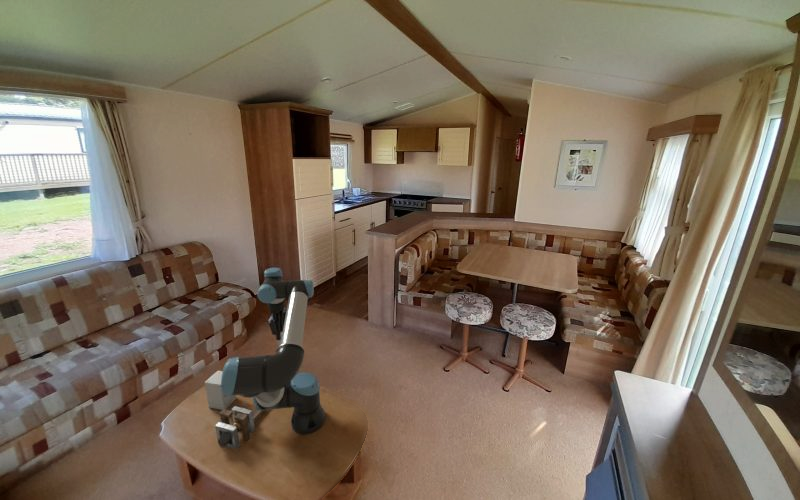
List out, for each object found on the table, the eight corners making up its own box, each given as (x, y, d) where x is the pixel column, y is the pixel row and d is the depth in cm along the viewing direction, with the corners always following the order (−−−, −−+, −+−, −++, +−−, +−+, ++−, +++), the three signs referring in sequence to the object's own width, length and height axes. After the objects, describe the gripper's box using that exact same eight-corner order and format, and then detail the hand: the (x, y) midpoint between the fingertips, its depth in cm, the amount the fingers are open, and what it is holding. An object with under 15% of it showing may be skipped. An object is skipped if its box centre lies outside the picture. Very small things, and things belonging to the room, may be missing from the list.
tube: (245, 416, 146) (244, 408, 145) (253, 418, 145) (252, 410, 144) (218, 445, 131) (216, 437, 130) (226, 448, 130) (225, 440, 129)
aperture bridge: (250, 438, 138) (247, 415, 134) (247, 442, 136) (243, 419, 132) (227, 431, 141) (223, 408, 137) (223, 435, 139) (219, 413, 135)
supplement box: (224, 411, 152) (220, 385, 148) (208, 407, 154) (203, 382, 149) (237, 397, 160) (233, 372, 156) (222, 394, 162) (217, 369, 158)
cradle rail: (274, 400, 159) (273, 396, 158) (253, 424, 145) (252, 420, 144) (266, 399, 160) (266, 394, 159) (245, 422, 146) (244, 417, 145)
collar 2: (254, 429, 142) (251, 410, 139) (251, 432, 141) (248, 413, 137) (237, 424, 145) (234, 406, 142) (234, 428, 143) (231, 409, 140)
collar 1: (240, 446, 134) (236, 426, 131) (236, 450, 132) (233, 430, 129) (222, 441, 136) (218, 421, 133) (218, 445, 135) (215, 425, 131)
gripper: (277, 293, 155) (282, 335, 162) (259, 305, 143) (265, 350, 150) (291, 295, 153) (295, 338, 160) (274, 307, 141) (279, 353, 148)
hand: (280, 344), depth 155 cm, fingers closed
